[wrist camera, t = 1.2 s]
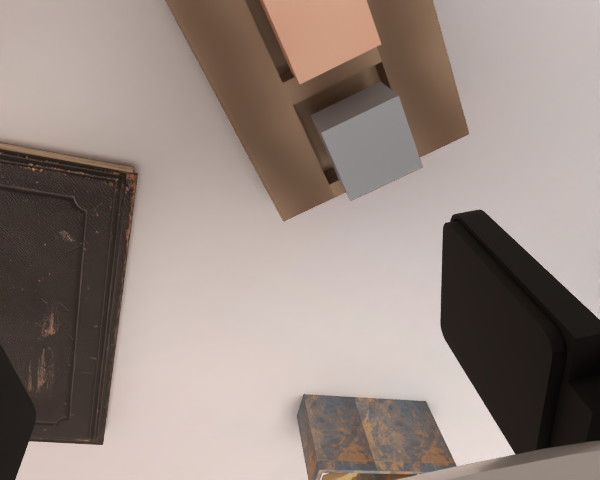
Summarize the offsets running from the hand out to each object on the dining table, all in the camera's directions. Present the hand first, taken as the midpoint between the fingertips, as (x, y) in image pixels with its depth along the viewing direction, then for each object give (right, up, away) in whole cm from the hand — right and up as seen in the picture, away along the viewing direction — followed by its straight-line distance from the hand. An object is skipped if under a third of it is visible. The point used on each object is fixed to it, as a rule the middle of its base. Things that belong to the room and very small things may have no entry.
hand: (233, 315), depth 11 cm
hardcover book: (-19, -2, +25) cm, 31 cm away
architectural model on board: (+7, -13, +35) cm, 38 cm away
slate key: (+5, +7, +17) cm, 19 cm away
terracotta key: (+2, +12, +14) cm, 19 cm away
